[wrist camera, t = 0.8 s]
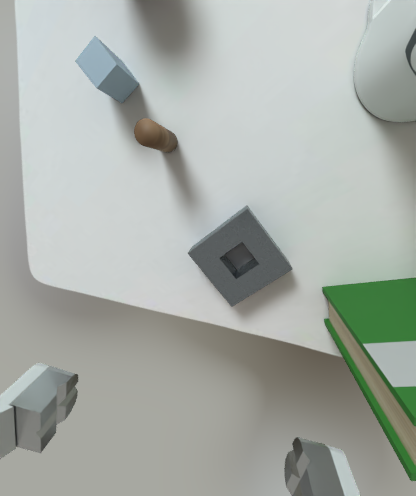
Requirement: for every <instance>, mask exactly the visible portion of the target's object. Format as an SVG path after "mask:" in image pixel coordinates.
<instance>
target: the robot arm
mask: <svg viewBox="0 0 416 496" xmlns="http://www.w3.org/2000/svg"><path fill="white" fill-rule="evenodd" d="M354 83H355V88H356V92H357V94H358V97H359V99H360V101H361V102H362V104H363V105H364V106H365V108H366V109H367V110H368V111H369V112H371V113H372V114H373V115H375V116H377V117H378V118H381V119H383V120H387V121H391V122H408V121H416V0H371V2H370V5H369V11H368V22H367V29H366V32H365V35H364V37H363V39H362V42H361V44H360V46H359V49H358V52H357V55H356V60H355V65H354ZM77 382H78V375H77V374H74V373H71V372H68V371H65V370H62V369H58V368H56V367H52V366H49V365H46V364H42V363H37V364H35V365H33V366H32V367H31V368H30V369H29V370H28V371H27V372H25V373H24V374H23V375H22V376H21V377H20V378H19V379H18V380H17V381H16V382H14V383H13V384H12V385H11V386H10V387H9V388H8V389H7V390H6V391H5V392H3V393H2V394H1V395H0V459H1V458H2V457H4V456H5V455H7V454H8V453H10V452H11V451H13V450H14V449H16V447H20V448H23V449H27V450H31V451H35V452H38V453H41V452H42V451H43V449H44V448H45V447H46V445H47V444H48V443H49V441H50V440H51V439H52V437H53V436H54V434H55V433H56V425H57V424H58V423H60V422H62V421H64V420H65V419H66V418H67V416H68V415H69V414H70V412H71V410H72V408H73V406H74V404H75V402H76V399H77V392H78V391H77V389H76V387H75V385H76V384H77ZM284 469H285V482H286V487H287V488H288V490H289V492H290V493H291V495H292V496H361V495H360V493H359V490H358V487H357V485H356V482H355V480H354V477H353V474H352V472H351V469H350V467H349V464H348V462H347V459H346V456H345V454H344V452H343V451H342V450H341V449H338V448H334V447H331V446H327V445H325V444H322V443H318V442H314V441H311V440H307V439H303V438H300V437H297V438H295V439H294V441H293V450H292V451H290V452H289V453H288V454H287V457H286V460H285V468H284Z"/></svg>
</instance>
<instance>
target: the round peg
mask: <svg viewBox="0 0 416 496" xmlns="http://www.w3.org/2000/svg"><path fill="white" fill-rule="evenodd" d="M134 134H135V138H136V140H137V141H138V142H139V143H140V144H141V145H143V146H146V147H150V148H153V149H157V150H160V151H164V152H172V151H173V150H174V149H175V148H176V146H177V138H176V136H175V134H174V133H172V132H171V131H169V130H167V129H166V128H164V127H162V126H161V125H159V124H157V123H156V122H154V121H152V120H150V119H147V118H145V119H141V120H139V121H138V122H137V124H136V126H135V129H134Z"/></svg>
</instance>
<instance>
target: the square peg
mask: <svg viewBox="0 0 416 496" xmlns="http://www.w3.org/2000/svg"><path fill="white" fill-rule="evenodd" d="M75 62H76V63H77V64H78V65H79V67H80V68H81V69H82V70H83V72H84V73H85V74H86V75H87V77H88V78H89V79H90V81H91V82H92V83H93V84H94V86H95V87H96V88H97V89H99V90H101V91H102V92H104V93H106V94H107V95H109V96H111V97H112V98H114V99H116V100H117V101H119V102H121V103H123V102H124V100H125V99H126V98H127V97H128V96H129V95H130V94H131V93H132V92H133V90H134V89H135V88H136V87H137V86H138V85H139V83H138V81H137V80H136V79H135V77H134V76H133V75H132V73H131V72H130V71H129V70H128V68H127V67H126V66H125V64H124V63H123V62H122V61H121V60H120V59H119V58H118V57H117V56H116V55H115V54H114V53H113V52H112V51H111V50H110V49H109V48H108V47H107V46H106V45H104V44H103V43H102V42H101V41H100V40H99V39H98V38H97V37H96V36H94V38H93V39H92V40H91V41H90V43H89V44H88V45H87V47H86V48H85V49H84V50H83V52H82V53H81V54H80V56H79V57H78V58H77V59H76V61H75Z"/></svg>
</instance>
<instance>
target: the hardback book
mask: <svg viewBox="0 0 416 496" xmlns="http://www.w3.org/2000/svg"><path fill="white" fill-rule="evenodd" d="M322 290H323V293H324V295H325V296H326V297H327V299H328V303H329V319H324V322H325V325H326V327H327V329H328V331H329V332H330V334H331V336H332V338H333V340H334V341H335V343H336V345H337V347H338V349H339V351H340V352H341V354H342V356H343V358H344V359H345V362H346V363H347V365H348V367H349V369H350V371H351V372H352V374H353V376H354V378H355V380H356V381H357V383H358V385H359V387H360V389H361V391H362V392H363V394H364V396H365V398H366V400H367V402H368V403H369V405H370V407H371V409H372V411H373V413H374V414H375V416H376V418H377V420H378V421H379V423H380V425H381V427H382V429H383V431H384V433H385V434H386V436H387V438H388V440H389V442H390V444H391V445H392V447H393V449H394V451H395V452H396V454H397V456H398V458H399V460H400V462H401V464H402V465H403V467H404V469H405V471H406V473H407V474H408V476H409V478H410V480H411V481H416V278H408V279H398V280H388V281H378V282H368V283H357V284H347V285H337V286H327V287H322Z"/></svg>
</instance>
